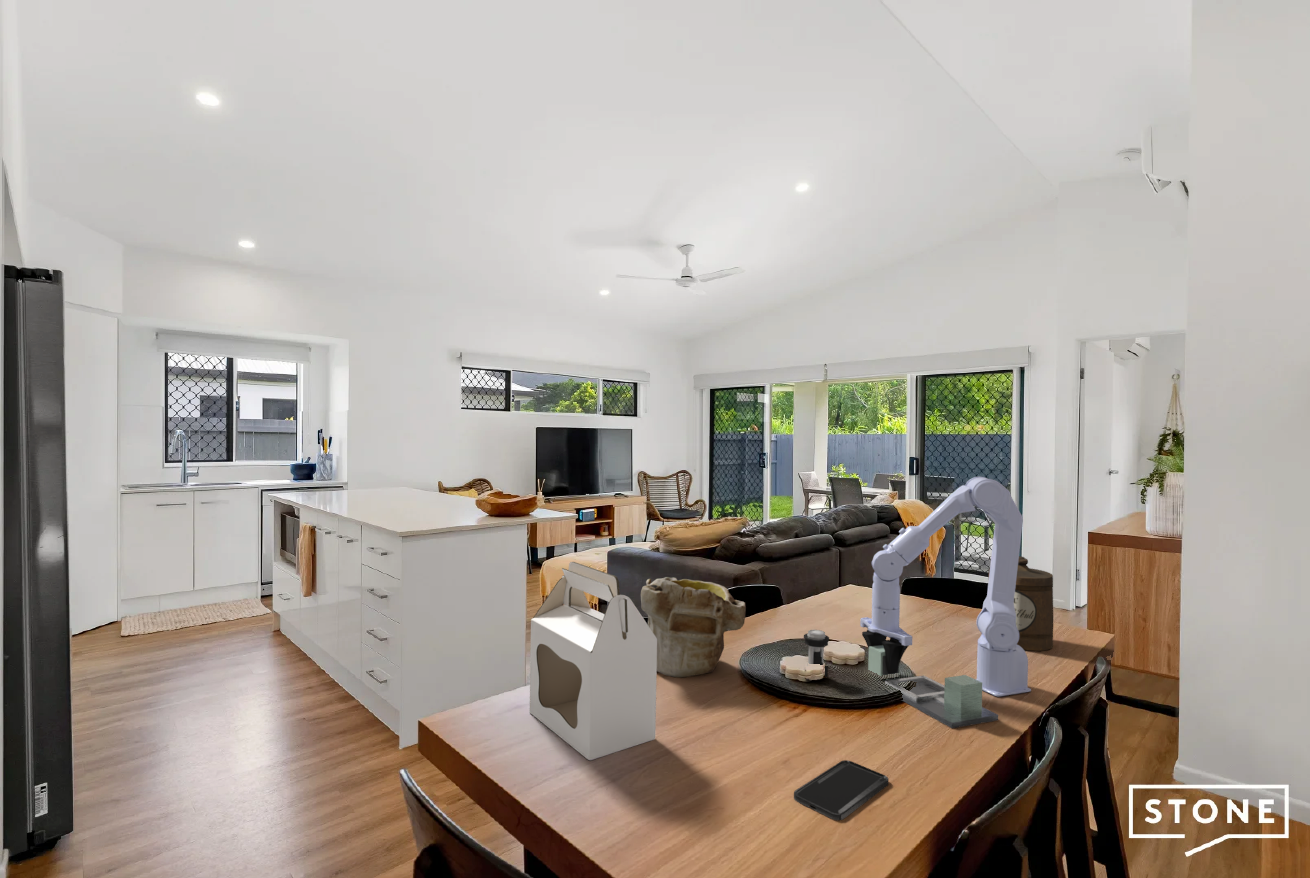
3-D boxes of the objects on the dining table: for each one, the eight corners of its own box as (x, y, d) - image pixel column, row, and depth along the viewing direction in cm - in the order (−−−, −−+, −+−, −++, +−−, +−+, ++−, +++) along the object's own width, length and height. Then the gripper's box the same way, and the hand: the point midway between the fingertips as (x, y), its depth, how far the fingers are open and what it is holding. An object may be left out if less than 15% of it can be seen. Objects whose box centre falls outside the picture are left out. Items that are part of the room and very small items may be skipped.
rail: (878, 687, 137) (878, 653, 136) (920, 681, 140) (921, 648, 140) (951, 728, 118) (952, 689, 118) (998, 720, 122) (999, 682, 121)
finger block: (868, 673, 144) (868, 646, 144) (886, 671, 146) (887, 644, 146) (881, 681, 140) (882, 653, 140) (900, 678, 142) (901, 650, 142)
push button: (810, 686, 137) (811, 638, 136) (792, 677, 141) (793, 631, 141) (833, 680, 140) (834, 634, 140) (816, 672, 144) (817, 627, 144)
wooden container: (974, 637, 172) (976, 553, 172) (1012, 630, 179) (1014, 550, 178) (1026, 654, 159) (1029, 564, 159) (1066, 647, 165) (1068, 560, 165)
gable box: (528, 712, 121) (530, 561, 121) (589, 696, 129) (592, 554, 129) (589, 762, 104) (592, 585, 103) (656, 740, 111) (659, 576, 111)
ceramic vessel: (740, 610, 163) (747, 543, 147) (742, 703, 144) (749, 637, 128) (649, 605, 165) (646, 538, 149) (639, 695, 146) (634, 629, 130)
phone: (891, 778, 99) (839, 816, 89) (891, 785, 99) (838, 825, 89) (844, 758, 105) (790, 792, 94) (844, 765, 105) (789, 800, 94)
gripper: (849, 599, 148) (848, 659, 148) (893, 617, 135) (892, 682, 135) (875, 597, 151) (874, 656, 151) (921, 614, 137) (919, 679, 137)
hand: (884, 668), depth 143 cm, fingers closed on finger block, 4 cm apart
